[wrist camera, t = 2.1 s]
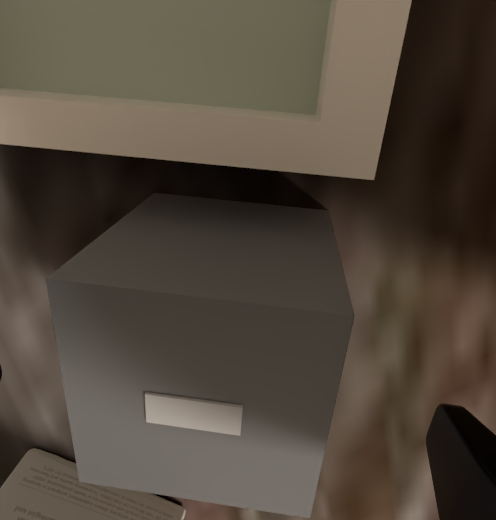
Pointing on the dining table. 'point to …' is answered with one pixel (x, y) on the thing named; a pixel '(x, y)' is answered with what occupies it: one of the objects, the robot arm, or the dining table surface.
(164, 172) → the dining table surface
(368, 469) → the dining table surface
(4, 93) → the white grey flat device
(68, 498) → the supplement box
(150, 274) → the block
